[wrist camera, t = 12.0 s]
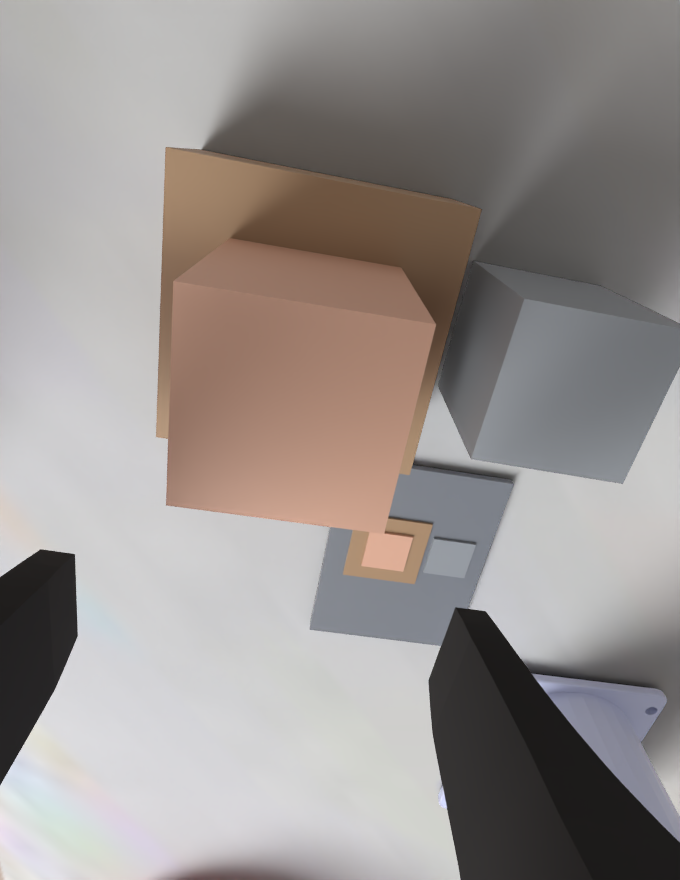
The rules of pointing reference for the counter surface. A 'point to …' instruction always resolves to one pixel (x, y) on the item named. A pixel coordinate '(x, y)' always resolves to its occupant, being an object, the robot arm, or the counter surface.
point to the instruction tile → (412, 559)
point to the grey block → (556, 373)
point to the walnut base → (312, 239)
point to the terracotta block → (293, 385)
